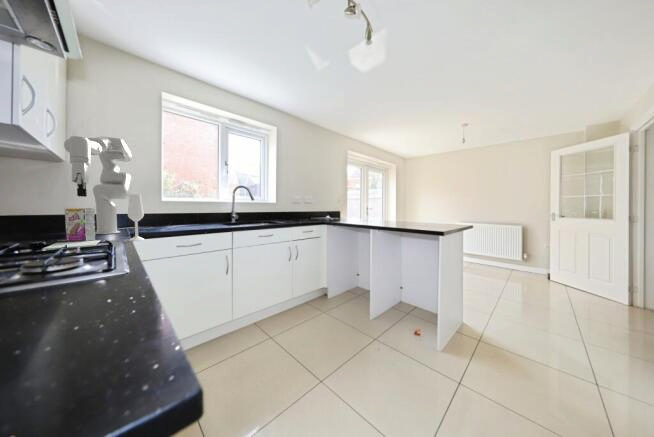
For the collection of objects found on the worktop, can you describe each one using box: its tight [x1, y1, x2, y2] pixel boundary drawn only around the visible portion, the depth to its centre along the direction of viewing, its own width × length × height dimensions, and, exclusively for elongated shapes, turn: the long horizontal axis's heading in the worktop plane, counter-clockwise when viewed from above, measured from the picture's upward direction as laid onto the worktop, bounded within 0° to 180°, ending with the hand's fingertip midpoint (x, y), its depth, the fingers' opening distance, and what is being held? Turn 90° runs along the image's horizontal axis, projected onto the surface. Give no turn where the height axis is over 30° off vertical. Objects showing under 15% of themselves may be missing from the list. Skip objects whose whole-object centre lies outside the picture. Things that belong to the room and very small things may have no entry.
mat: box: [42, 239, 101, 250], centre depth 107 cm, size 18×15×1 cm
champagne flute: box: [127, 193, 145, 242], centre depth 123 cm, size 7×7×24 cm
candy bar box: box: [64, 207, 97, 242], centre depth 117 cm, size 11×5×16 cm, turn 84°
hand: (82, 196), depth 122 cm, fingers closed
